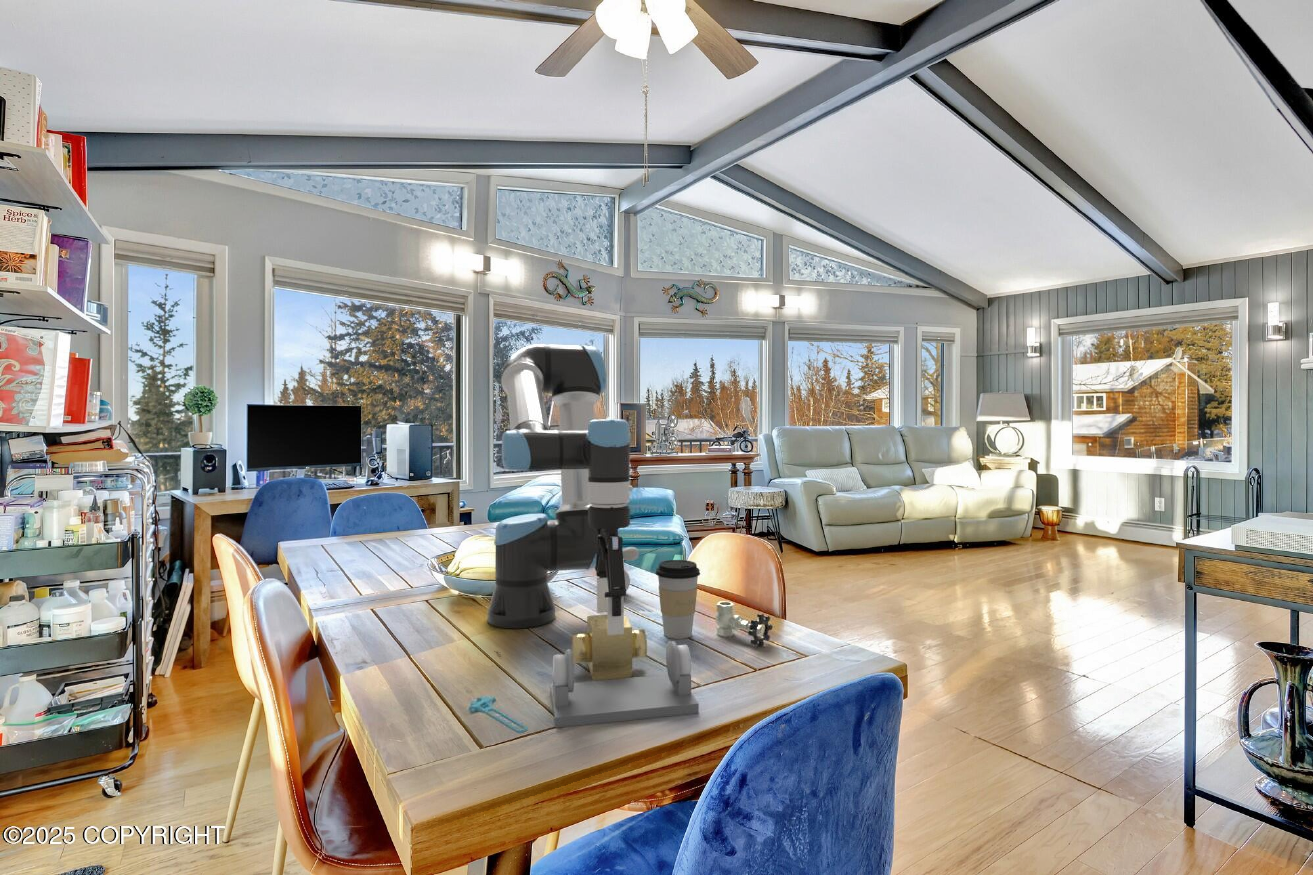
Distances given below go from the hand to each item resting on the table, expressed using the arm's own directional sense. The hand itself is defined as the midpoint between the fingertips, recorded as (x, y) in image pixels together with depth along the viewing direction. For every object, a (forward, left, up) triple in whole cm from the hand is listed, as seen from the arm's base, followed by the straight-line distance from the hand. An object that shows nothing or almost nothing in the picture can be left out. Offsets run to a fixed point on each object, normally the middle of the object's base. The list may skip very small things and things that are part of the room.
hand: (609, 622), depth 116 cm
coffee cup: (-16, +17, -9) cm, 25 cm away
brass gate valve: (0, 0, -9) cm, 9 cm away
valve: (-11, +29, -9) cm, 32 cm away
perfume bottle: (-50, +10, -9) cm, 52 cm away
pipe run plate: (+14, 0, -9) cm, 16 cm away
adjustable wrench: (+14, -19, -9) cm, 25 cm away
